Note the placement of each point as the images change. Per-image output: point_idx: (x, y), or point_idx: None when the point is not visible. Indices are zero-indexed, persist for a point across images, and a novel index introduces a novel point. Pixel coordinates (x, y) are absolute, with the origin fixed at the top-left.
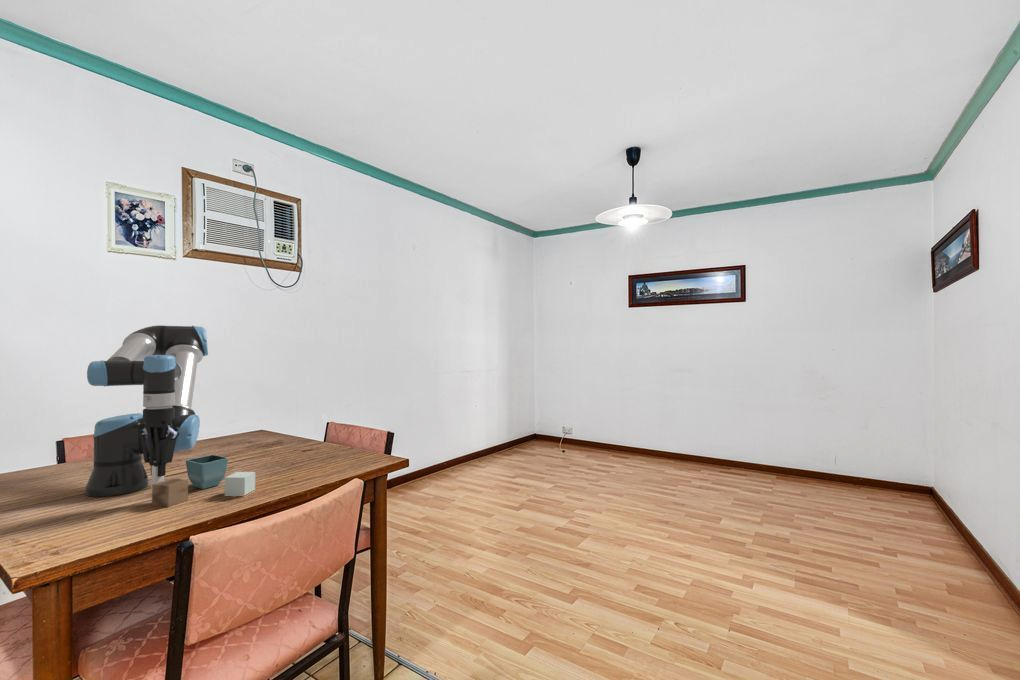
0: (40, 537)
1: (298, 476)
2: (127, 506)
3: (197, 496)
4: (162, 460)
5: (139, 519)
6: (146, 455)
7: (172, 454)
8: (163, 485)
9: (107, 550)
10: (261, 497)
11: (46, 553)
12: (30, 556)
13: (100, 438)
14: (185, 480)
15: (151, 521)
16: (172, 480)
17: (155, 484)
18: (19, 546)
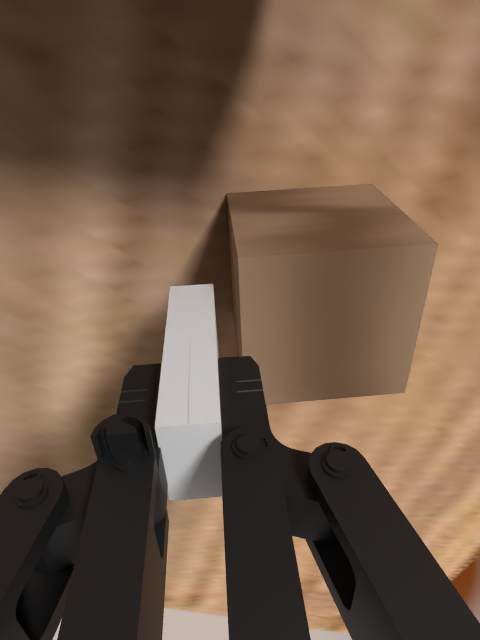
0: (190, 576)
1: None
2: (123, 366)
3: (377, 92)
4: (333, 553)
5: (357, 431)
6: (50, 634)
7: (423, 555)
8: (351, 395)
9: (473, 553)
10: None
11: (330, 596)
12: (309, 609)
13: None
14: (423, 262)
15: (427, 427)
16: (303, 298)
17: (270, 400)
18: (211, 603)
